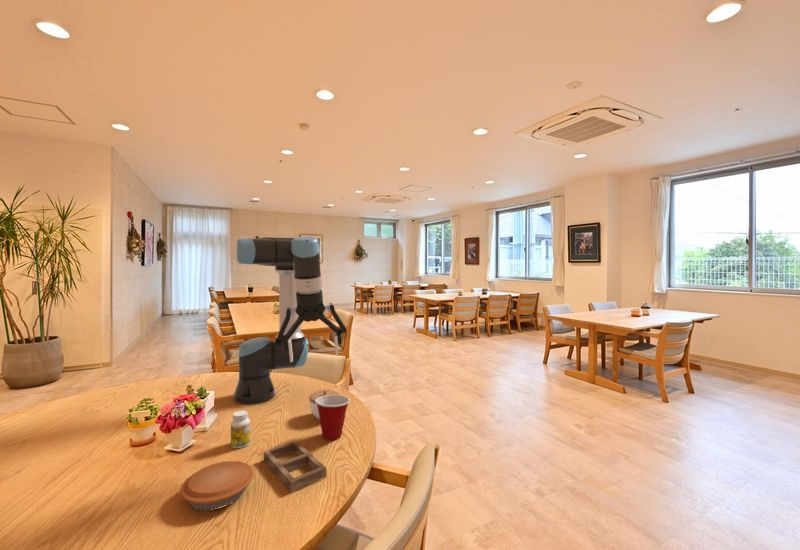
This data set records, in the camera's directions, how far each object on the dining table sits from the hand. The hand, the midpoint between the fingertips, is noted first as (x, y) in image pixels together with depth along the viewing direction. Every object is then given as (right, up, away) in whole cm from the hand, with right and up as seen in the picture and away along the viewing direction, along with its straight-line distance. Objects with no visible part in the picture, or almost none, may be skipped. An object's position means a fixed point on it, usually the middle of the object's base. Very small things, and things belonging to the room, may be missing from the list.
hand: (314, 356), depth 109 cm
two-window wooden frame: (-2, -27, -14) cm, 30 cm away
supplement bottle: (-22, -26, -2) cm, 34 cm away
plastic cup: (+5, -26, +4) cm, 27 cm away
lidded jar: (-1, -26, +18) cm, 31 cm away
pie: (-17, -27, -24) cm, 40 cm away
